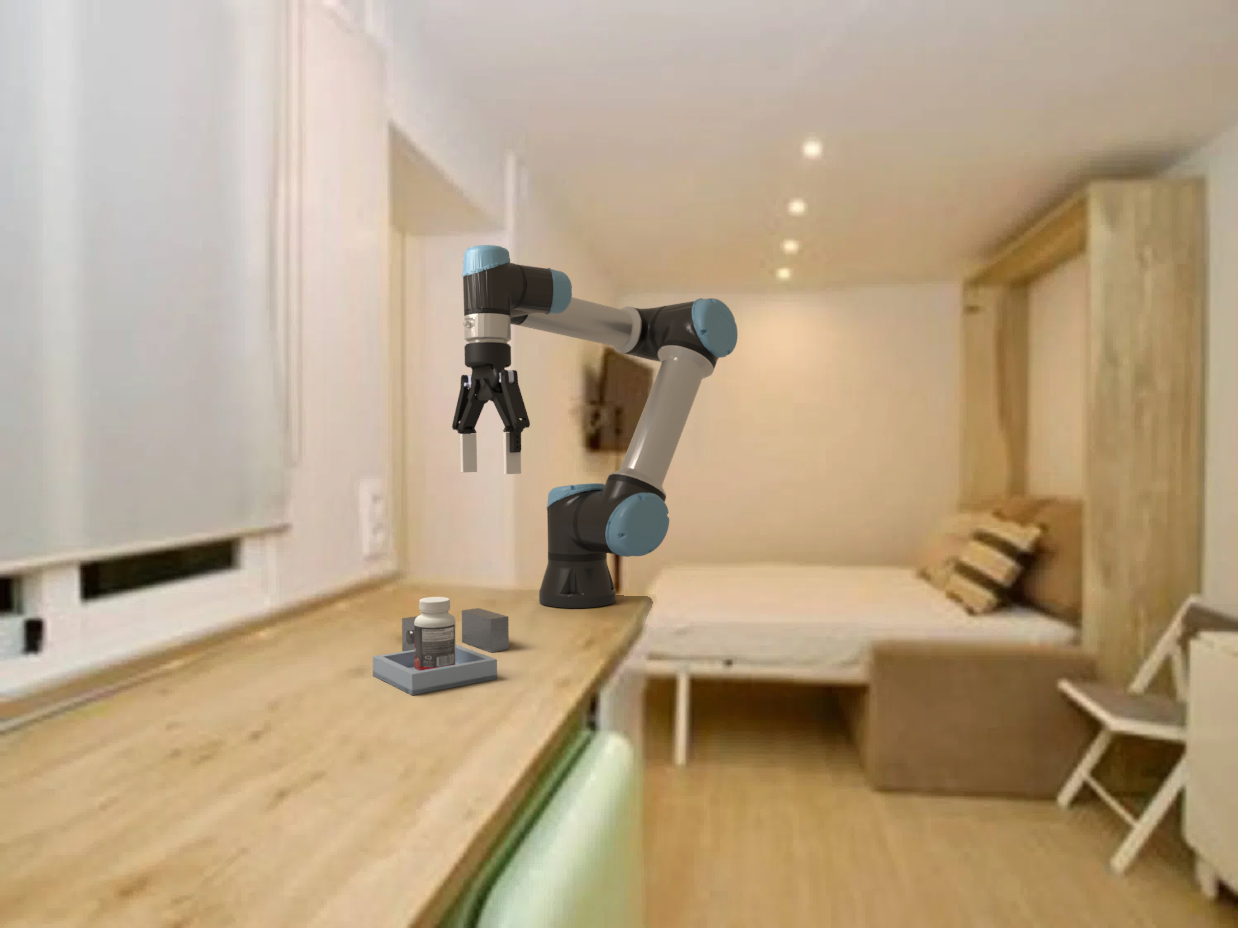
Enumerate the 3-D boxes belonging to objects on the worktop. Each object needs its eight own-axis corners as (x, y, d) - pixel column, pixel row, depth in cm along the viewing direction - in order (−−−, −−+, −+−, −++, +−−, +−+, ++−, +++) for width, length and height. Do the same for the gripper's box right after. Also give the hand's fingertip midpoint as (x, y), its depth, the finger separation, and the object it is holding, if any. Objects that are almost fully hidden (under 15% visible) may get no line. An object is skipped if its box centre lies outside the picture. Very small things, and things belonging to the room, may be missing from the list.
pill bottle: (415, 668, 117) (415, 596, 117) (455, 666, 118) (455, 595, 118) (412, 678, 112) (412, 603, 112) (455, 676, 113) (455, 602, 113)
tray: (453, 661, 124) (453, 643, 124) (497, 678, 114) (496, 659, 114) (372, 675, 116) (372, 656, 116) (412, 695, 107) (412, 674, 107)
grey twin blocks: (484, 638, 139) (484, 607, 139) (514, 648, 132) (514, 615, 132) (395, 652, 129) (395, 618, 129) (423, 664, 122) (422, 628, 122)
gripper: (430, 348, 149) (433, 472, 150) (509, 333, 130) (511, 475, 130) (469, 351, 154) (471, 470, 154) (550, 336, 135) (552, 473, 135)
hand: (489, 473), depth 142 cm, fingers open, 13 cm apart
